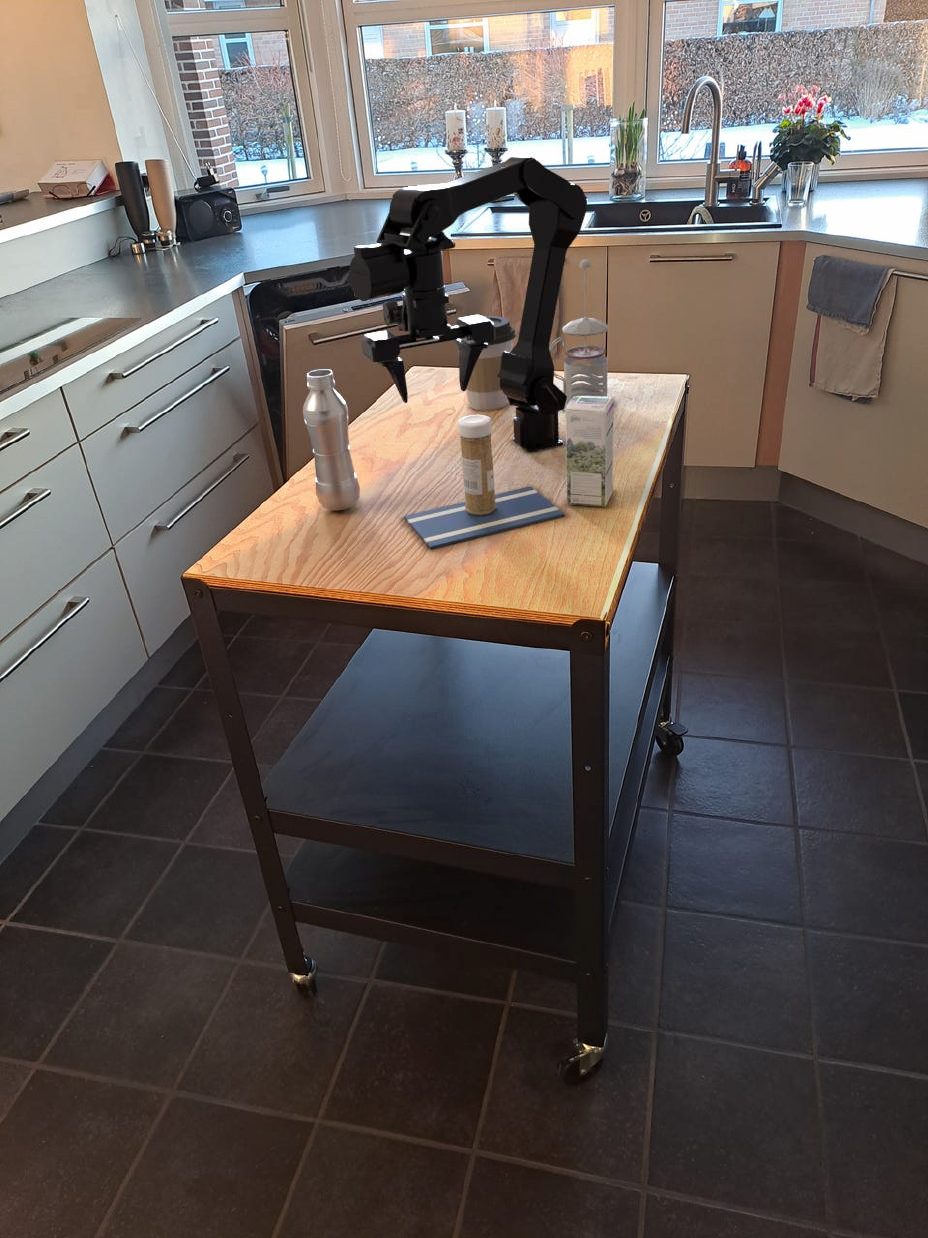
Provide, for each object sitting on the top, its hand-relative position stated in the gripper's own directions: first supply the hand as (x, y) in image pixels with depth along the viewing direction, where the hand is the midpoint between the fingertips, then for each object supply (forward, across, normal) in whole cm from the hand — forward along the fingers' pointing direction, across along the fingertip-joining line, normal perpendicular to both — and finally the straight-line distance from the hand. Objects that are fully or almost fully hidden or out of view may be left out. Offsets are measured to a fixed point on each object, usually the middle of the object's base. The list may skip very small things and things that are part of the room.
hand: (434, 396), depth 137 cm
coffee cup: (+13, -20, -28) cm, 37 cm away
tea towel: (+13, 0, +16) cm, 21 cm away
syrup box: (+13, -16, +19) cm, 28 cm away
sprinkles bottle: (+13, 0, +15) cm, 20 cm away
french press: (+13, -34, -18) cm, 41 cm away
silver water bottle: (+13, +17, +2) cm, 22 cm away
